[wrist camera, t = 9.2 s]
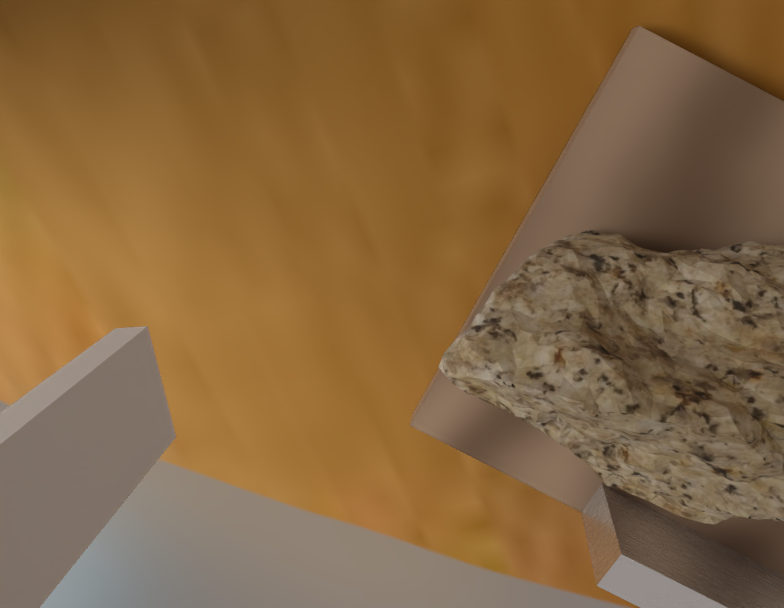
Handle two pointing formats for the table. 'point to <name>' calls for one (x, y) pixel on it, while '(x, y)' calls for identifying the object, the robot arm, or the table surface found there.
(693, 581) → the cradle rails
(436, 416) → the cradle board
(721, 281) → the rock
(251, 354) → the table surface
